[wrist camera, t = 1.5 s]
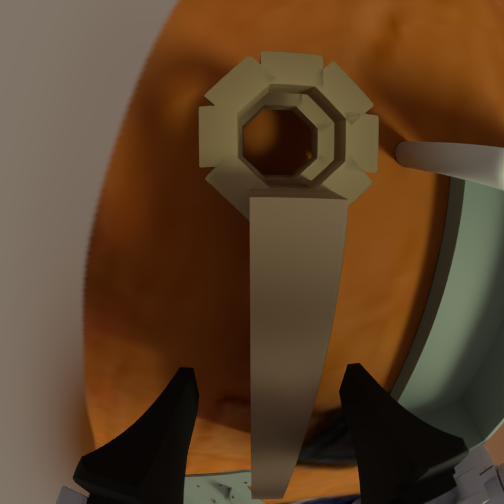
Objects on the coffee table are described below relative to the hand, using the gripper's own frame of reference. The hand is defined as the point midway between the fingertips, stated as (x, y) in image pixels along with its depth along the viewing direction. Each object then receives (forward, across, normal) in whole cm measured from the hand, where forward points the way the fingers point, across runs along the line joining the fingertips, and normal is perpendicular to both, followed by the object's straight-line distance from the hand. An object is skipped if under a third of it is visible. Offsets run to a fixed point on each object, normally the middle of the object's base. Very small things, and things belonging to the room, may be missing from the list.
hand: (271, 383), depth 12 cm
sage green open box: (+2, -12, -1) cm, 12 cm away
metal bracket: (+3, +5, +26) cm, 27 cm away
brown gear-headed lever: (+3, 0, -2) cm, 3 cm away
